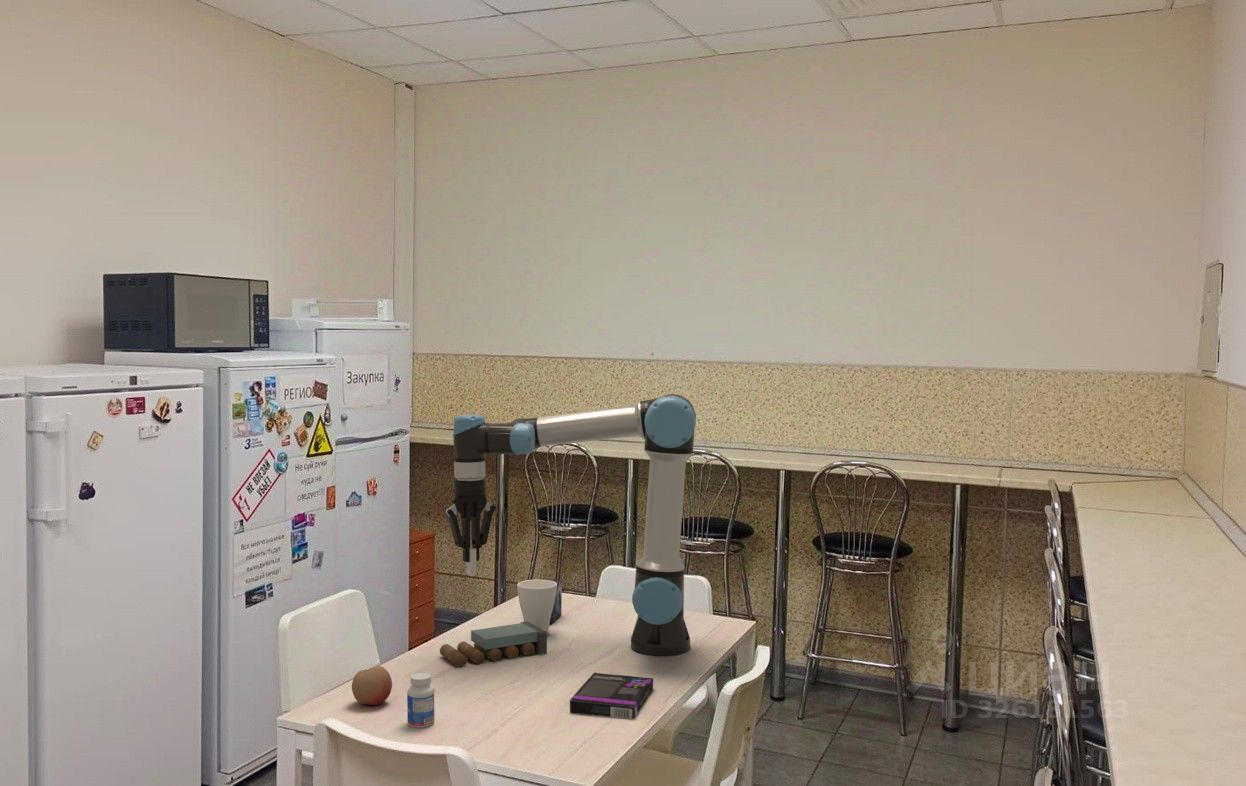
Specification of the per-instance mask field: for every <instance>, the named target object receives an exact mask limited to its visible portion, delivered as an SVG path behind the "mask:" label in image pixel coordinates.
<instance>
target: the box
mask: <svg viewBox="0 0 1246 786" xmlns="http://www.w3.org/2000/svg"><path fill="white" fill-rule="evenodd" d="M653 690H654V678H653V677H642V676H633V675H624V674H612V673H611V674H609V673H601V672H593V673H592V675H591V676H590V677H589V678H588V679H587V680H586V681H585V682H584V683H583V684H582V685H581V687H580V688H578V690H577V691H576V692H575V694H573V696H572V697H571V698H570V699H569V713H570V714H575V715H576V714H577V715H588V716H597V717H598V716H599V717H608V718H609V717H611V718H616V719H617V718H619V719H629V720H634V719H635V718H636V717H637V715H638V714H639V712H640V711H641V709H642V707H643V706H644V704H645V703H646V701H647V700H648V698H649V696H650V695H651V693H652V691H653Z"/></svg>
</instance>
